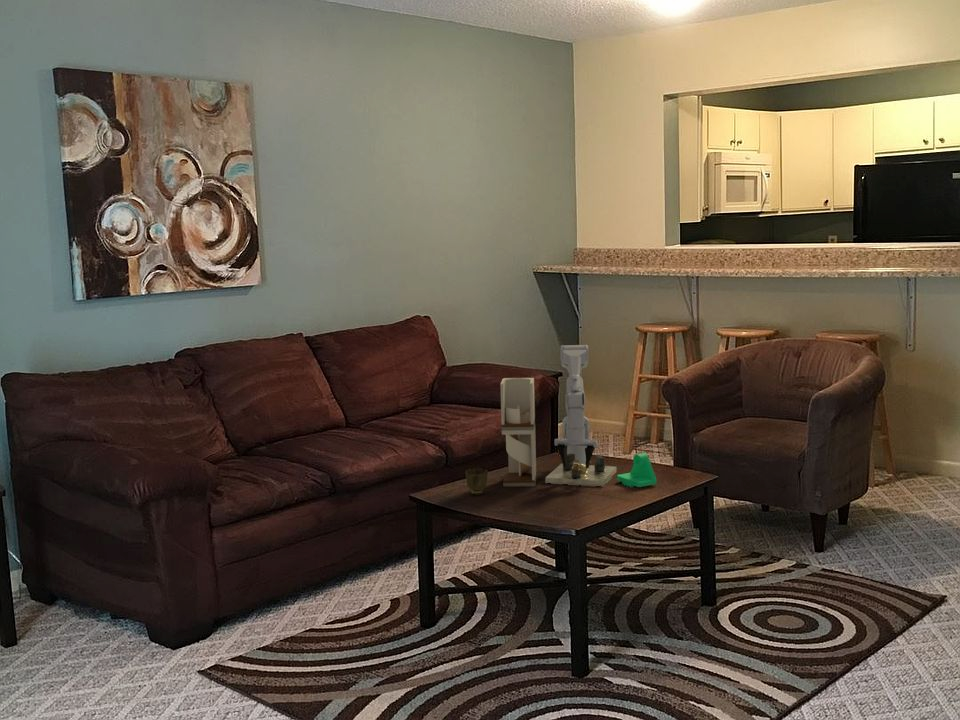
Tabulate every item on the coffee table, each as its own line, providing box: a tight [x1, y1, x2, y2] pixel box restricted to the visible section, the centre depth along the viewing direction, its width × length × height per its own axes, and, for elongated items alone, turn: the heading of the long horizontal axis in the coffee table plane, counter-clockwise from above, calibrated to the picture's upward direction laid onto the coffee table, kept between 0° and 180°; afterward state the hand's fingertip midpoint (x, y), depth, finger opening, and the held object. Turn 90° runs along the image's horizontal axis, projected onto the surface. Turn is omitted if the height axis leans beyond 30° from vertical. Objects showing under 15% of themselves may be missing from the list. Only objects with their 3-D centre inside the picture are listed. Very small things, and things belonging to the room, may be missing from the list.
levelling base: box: [544, 453, 618, 488], centre depth 365 cm, size 20×20×7 cm
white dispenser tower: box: [499, 377, 537, 487], centre depth 360 cm, size 11×11×35 cm
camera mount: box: [616, 452, 658, 488], centre depth 354 cm, size 12×8×10 cm, turn 30°
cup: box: [464, 467, 489, 496], centre depth 348 cm, size 8×7×8 cm
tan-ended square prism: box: [571, 460, 582, 478], centre depth 358 cm, size 5×4×5 cm
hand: (576, 466), depth 358 cm, fingers open, 7 cm apart
